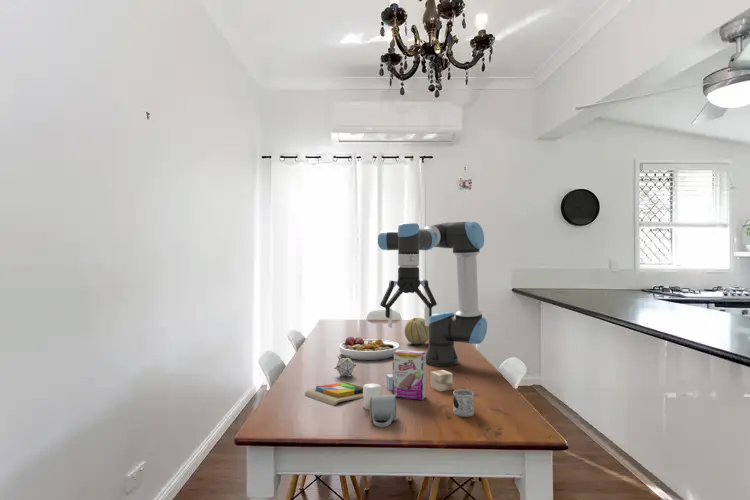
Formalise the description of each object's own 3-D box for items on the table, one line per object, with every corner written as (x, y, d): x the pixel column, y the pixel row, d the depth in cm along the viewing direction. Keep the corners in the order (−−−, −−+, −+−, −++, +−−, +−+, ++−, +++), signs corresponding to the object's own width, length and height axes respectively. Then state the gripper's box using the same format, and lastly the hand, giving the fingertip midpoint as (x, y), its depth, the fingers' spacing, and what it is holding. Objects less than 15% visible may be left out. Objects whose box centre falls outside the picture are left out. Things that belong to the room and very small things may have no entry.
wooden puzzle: (374, 395, 175) (374, 385, 175) (334, 407, 161) (334, 397, 161) (342, 385, 187) (342, 376, 187) (303, 396, 174) (303, 387, 174)
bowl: (409, 352, 244) (409, 337, 244) (378, 364, 219) (378, 347, 219) (361, 346, 260) (361, 331, 260) (327, 357, 235) (327, 341, 235)
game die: (348, 386, 197) (352, 370, 192) (329, 377, 199) (333, 362, 193) (356, 371, 204) (360, 355, 199) (338, 363, 206) (342, 347, 200)
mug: (452, 409, 158) (452, 389, 158) (473, 409, 157) (473, 389, 157) (454, 420, 148) (454, 398, 148) (476, 420, 147) (476, 399, 147)
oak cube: (443, 385, 185) (443, 369, 185) (452, 389, 180) (452, 373, 180) (430, 387, 183) (430, 371, 183) (439, 391, 177) (439, 375, 177)
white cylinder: (378, 403, 164) (379, 383, 164) (383, 409, 158) (383, 388, 158) (361, 404, 163) (361, 384, 163) (365, 410, 157) (365, 389, 157)
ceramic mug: (370, 415, 152) (370, 391, 152) (396, 415, 152) (396, 391, 152) (368, 428, 142) (368, 402, 142) (395, 428, 141) (395, 402, 141)
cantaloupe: (434, 342, 268) (434, 316, 268) (426, 347, 254) (426, 319, 254) (409, 340, 274) (409, 314, 274) (400, 345, 260) (400, 318, 260)
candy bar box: (392, 397, 170) (392, 351, 170) (396, 393, 175) (396, 349, 174) (423, 401, 166) (422, 354, 166) (426, 396, 171) (426, 351, 171)
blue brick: (406, 386, 185) (406, 373, 185) (409, 389, 181) (409, 375, 181) (386, 387, 183) (386, 374, 183) (389, 390, 179) (389, 377, 179)
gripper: (376, 267, 164) (376, 329, 164) (445, 266, 169) (445, 326, 169) (372, 266, 171) (372, 325, 171) (438, 266, 176) (438, 323, 176)
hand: (408, 326), depth 170 cm, fingers open, 13 cm apart
